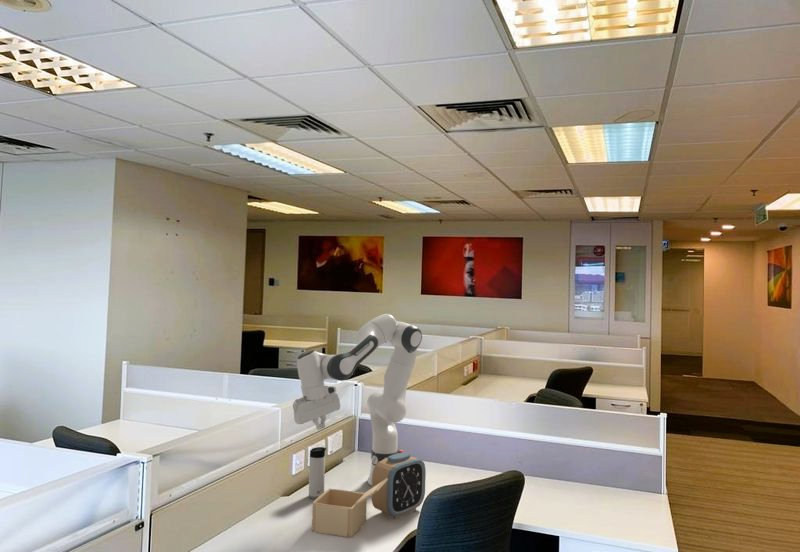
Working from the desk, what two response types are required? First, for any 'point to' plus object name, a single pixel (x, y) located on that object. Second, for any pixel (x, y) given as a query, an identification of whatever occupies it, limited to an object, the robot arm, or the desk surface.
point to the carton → (338, 513)
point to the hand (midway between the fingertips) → (321, 428)
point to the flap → (371, 491)
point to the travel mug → (316, 472)
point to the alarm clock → (399, 484)
